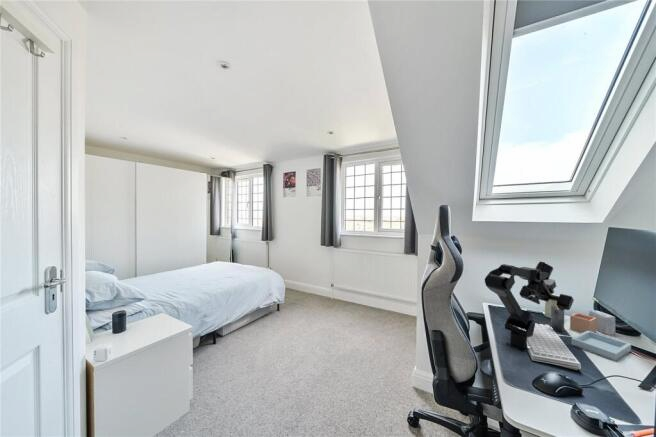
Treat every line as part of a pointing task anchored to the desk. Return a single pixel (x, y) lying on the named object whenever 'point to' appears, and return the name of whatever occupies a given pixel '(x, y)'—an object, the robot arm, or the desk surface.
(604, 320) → the medicine box
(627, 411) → the desk surface
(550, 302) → the skincare box
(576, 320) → the orange open box
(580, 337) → the trough
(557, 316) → the block
